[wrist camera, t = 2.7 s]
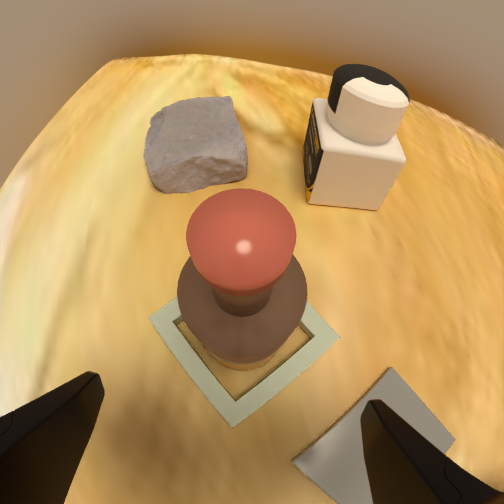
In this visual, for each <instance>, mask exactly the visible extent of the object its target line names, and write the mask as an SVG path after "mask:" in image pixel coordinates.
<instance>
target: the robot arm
mask: <svg viewBox="0 0 504 504" xmlns="http://www.w3.org/2000/svg"><path fill="white" fill-rule="evenodd" d="M104 394H105V392H104V387H103V384H102V381H101V378H100V375H99V374H97V373H94V372H91V371H87V372H85V373H83V374H81V375H80V376H78V377H76V378H74V379H72V380H70V381H69V382H67V383H65V384H63V385H61V386H59V387H57V388H56V389H54V390H52V391H50V392H48V393H46V394H44V395H42V396H41V397H39V398H37V399H35V400H33V401H31V402H29V403H27V404H25V405H23V406H21V407H20V408H18V409H16V410H14V411H12V412H10V413H8V414H6V415H4V416H2V417H0V504H64V502H65V499H66V496H67V494H68V491H69V488H70V486H71V483H72V480H73V478H74V475H75V473H76V470H77V468H78V465H79V463H80V460H81V458H82V456H83V453H84V451H85V448H86V446H87V444H88V441H89V439H90V437H91V435H92V432H93V430H94V427H95V424H96V420H97V417H98V414H99V411H100V407H101V404H102V401H103V398H104ZM360 424H361V433H362V443H363V454H364V461H365V466H366V470H367V475H368V480H369V485H370V490H371V496H372V501H373V504H504V492H500V491H498V490H495V489H494V488H492V487H490V486H489V485H487V484H485V483H484V482H482V481H480V480H479V479H477V478H476V477H474V476H473V475H471V474H470V473H468V472H467V471H465V470H464V469H462V468H461V467H460V466H459V465H457V464H456V463H455V462H453V461H452V460H451V459H450V458H449V457H447V456H446V455H445V454H444V453H443V452H441V451H440V450H439V449H438V448H437V447H435V446H434V445H433V444H432V443H431V442H430V441H428V440H427V439H426V438H425V437H424V436H422V435H421V434H420V433H419V432H418V431H417V430H415V429H414V428H413V427H412V426H411V425H410V424H409V423H407V422H406V421H405V420H404V419H403V418H402V417H400V416H399V415H398V414H397V413H396V412H395V411H394V410H392V409H391V408H390V407H389V406H388V405H387V404H386V403H384V402H383V401H382V400H381V399H371V400H369V401H368V402H367V404H366V406H365V408H364V410H363V412H362V414H361V417H360Z"/></svg>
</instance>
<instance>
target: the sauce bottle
mask: <svg viewBox="0 0 504 504" xmlns="http://www.w3.org/2000/svg"><path fill="white" fill-rule="evenodd" d="M186 240H187V246H188V249H189V252H190V255H191V256H190V257H189V259H188V260H187V262H186V263H185V265H184V267H183V269H182V271H181V274H180V277H179V281H178V288H177V299H178V305H179V309H180V312H181V315H182V317H183V319H184V321H185V323H186V324H187V326H188V327H189V329H190V330H191V331H192V332H193V334H194V335H195V336H196V337H197V338H198V340H199V341H200V342H201V343H202V344H203V345H204V346H205V348H206V349H207V350H208V351H209V352H210V353H211V354H212V356H213V357H214V358H215V359H216V360H217V361H218V362H219V363H221V364H222V365H224V366H226V367H228V368H230V369H233V370H239V371H248V370H253V369H256V368H259V367H261V366H263V365H264V364H266V363H267V362H268V361H269V360H271V358H272V357H273V356H274V355H275V354H276V352H277V351H278V350H279V349H280V347H281V346H282V345H283V344H284V342H285V341H286V340H287V338H288V337H289V336H290V335H291V333H292V332H293V331H294V329H295V328H296V327H297V325H298V324H299V322H300V320H301V318H302V316H303V313H304V311H305V307H306V303H307V284H306V279H305V275H304V272H303V270H302V268H301V266H300V264H299V262H298V261H297V259H296V258H295V257H294V256H293V251H294V247H295V243H296V228H295V224H294V221H293V219H292V217H291V215H290V213H289V212H288V210H287V209H286V208H285V207H284V206H283V204H282V203H280V202H279V201H278V200H277V199H275V198H274V197H272V196H270V195H268V194H266V193H263V192H261V191H257V190H253V189H241V188H240V189H231V190H226V191H222V192H220V193H217V194H215V195H213V196H211V197H209V198H208V199H206V200H205V201H204V202H203V203H201V204H200V205H199V206H198V207H197V209H196V210H195V211H194V213H193V214H192V216H191V218H190V220H189V223H188V226H187V232H186Z"/></svg>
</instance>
